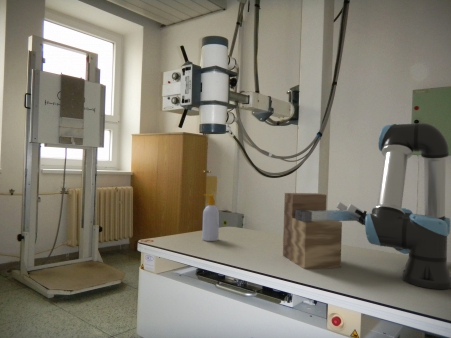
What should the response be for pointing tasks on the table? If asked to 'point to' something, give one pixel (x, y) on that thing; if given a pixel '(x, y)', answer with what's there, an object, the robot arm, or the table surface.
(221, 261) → the table surface
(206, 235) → the soap bottle
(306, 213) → the steel bar
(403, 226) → the robot arm
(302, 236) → the walnut step stand
